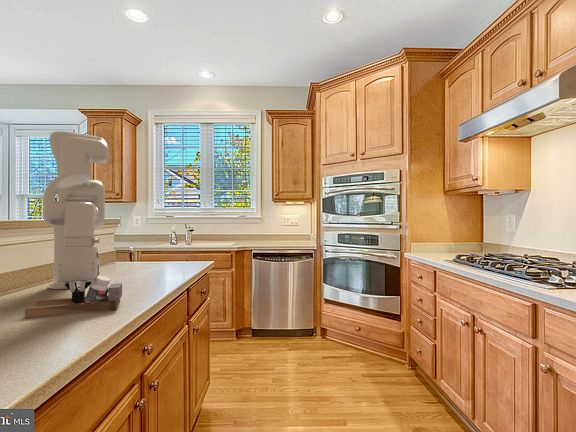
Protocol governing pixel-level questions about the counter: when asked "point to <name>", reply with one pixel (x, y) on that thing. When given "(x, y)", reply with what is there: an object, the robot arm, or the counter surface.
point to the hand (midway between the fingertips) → (78, 304)
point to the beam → (75, 305)
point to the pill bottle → (98, 290)
